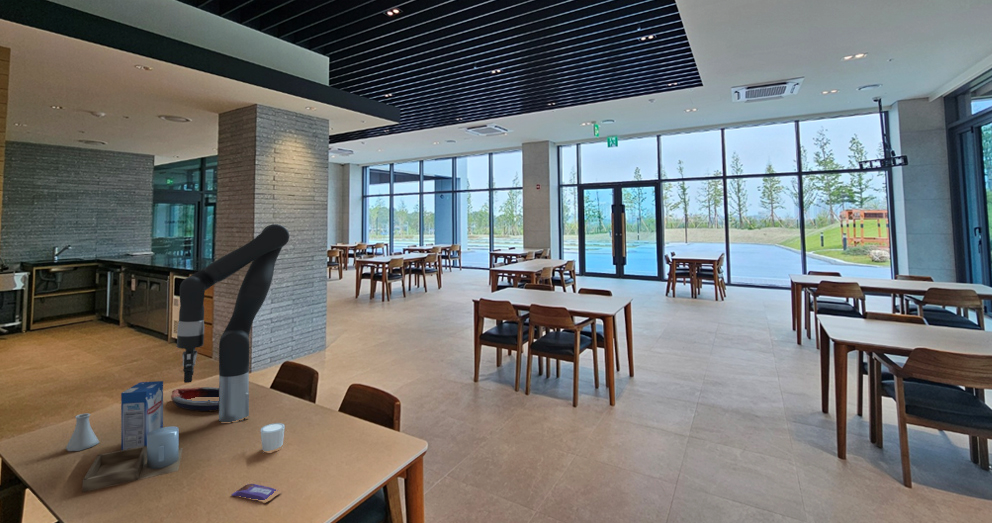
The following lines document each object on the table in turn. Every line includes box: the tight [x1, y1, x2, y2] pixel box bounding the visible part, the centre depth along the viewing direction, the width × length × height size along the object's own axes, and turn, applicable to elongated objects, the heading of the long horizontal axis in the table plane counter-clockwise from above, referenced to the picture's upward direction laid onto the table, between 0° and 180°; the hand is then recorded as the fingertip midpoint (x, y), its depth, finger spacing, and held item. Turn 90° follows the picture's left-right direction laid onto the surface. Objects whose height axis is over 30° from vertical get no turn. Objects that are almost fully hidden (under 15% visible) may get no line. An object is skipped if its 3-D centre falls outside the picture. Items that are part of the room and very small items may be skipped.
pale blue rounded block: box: [147, 426, 180, 469], centre depth 115 cm, size 7×8×9 cm
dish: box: [170, 386, 219, 412], centre depth 161 cm, size 16×31×5 cm, turn 71°
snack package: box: [231, 483, 277, 500], centre depth 104 cm, size 12×2×5 cm
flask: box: [65, 412, 100, 452], centre depth 126 cm, size 7×7×10 cm
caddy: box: [82, 446, 184, 493], centre depth 112 cm, size 19×15×4 cm
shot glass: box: [260, 422, 286, 451], centre depth 127 cm, size 7×7×7 cm
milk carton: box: [120, 380, 164, 451], centre depth 125 cm, size 10×6×20 cm, turn 17°
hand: (188, 378), depth 140 cm, fingers open, 8 cm apart
